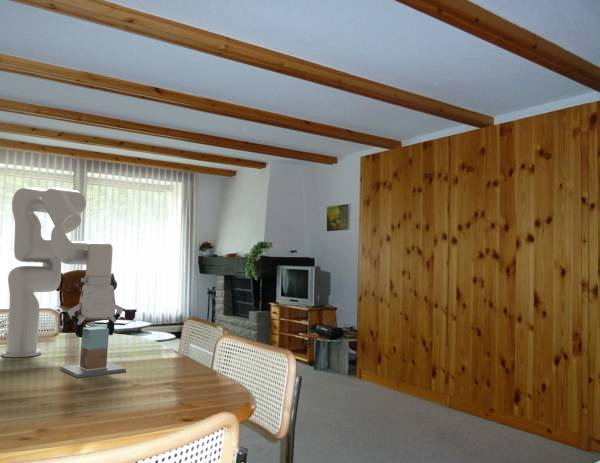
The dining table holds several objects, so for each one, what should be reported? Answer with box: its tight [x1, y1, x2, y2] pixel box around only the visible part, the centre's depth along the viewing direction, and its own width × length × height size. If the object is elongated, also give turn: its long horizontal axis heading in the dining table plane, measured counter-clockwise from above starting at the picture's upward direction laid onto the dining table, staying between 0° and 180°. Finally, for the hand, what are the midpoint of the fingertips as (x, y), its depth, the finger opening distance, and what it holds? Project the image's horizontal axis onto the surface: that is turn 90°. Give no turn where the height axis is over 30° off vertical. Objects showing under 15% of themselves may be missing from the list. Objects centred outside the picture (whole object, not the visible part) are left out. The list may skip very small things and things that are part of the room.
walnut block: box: [79, 346, 109, 370], centre depth 163 cm, size 6×6×6 cm
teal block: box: [80, 326, 110, 350], centre depth 163 cm, size 6×6×6 cm
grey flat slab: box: [59, 360, 127, 379], centre depth 162 cm, size 14×15×1 cm
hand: (94, 335), depth 163 cm, fingers open, 9 cm apart
